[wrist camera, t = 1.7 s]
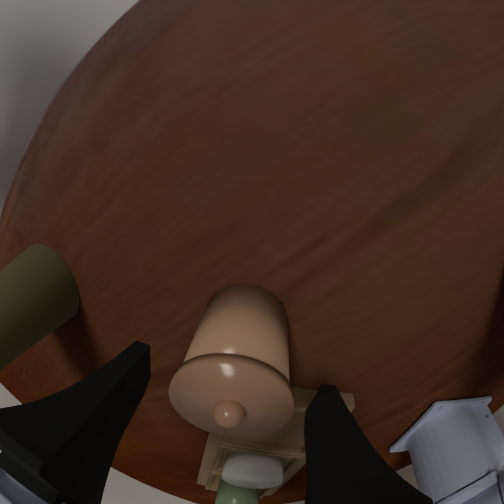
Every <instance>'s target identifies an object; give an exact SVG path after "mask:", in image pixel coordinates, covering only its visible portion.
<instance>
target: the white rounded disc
mask: <svg viewBox="0 0 504 504" xmlns="http://www.w3.org/2000/svg"><path fill="white" fill-rule="evenodd" d="M222 479H223V480H224V481H226V482H227V483H229V484H232V485H235V486H239V487H243V488H251V489H264V488H272V487H275V486H278V485H280V484H281V483H282V482H283V460H282V459H281V458H280V457H278V456H269V455H262V454H255V453H248V452H242V451H238V452H233V453H230V454H228V455H227V456H226V457H225V461H224V467H223V472H222Z"/></svg>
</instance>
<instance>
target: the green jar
mask: <svg viewBox="0 0 504 504" xmlns="http://www.w3.org/2000/svg"><path fill="white" fill-rule="evenodd" d="M258 500H259V489H251V488H243V487H239V486H235V485H232V484H229V483H227V482H226V481H224V480H223V479H220V480H219V486H218V491H217V496H216V501H215V504H258Z"/></svg>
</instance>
